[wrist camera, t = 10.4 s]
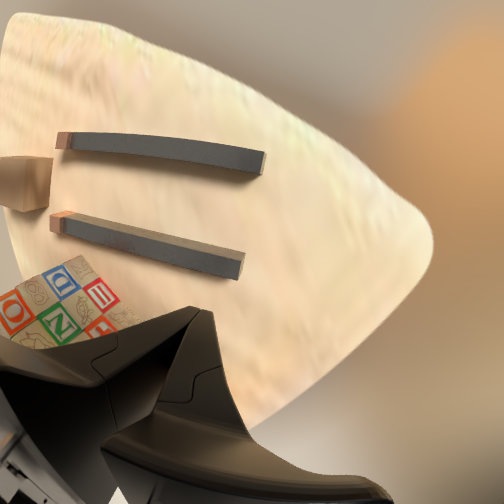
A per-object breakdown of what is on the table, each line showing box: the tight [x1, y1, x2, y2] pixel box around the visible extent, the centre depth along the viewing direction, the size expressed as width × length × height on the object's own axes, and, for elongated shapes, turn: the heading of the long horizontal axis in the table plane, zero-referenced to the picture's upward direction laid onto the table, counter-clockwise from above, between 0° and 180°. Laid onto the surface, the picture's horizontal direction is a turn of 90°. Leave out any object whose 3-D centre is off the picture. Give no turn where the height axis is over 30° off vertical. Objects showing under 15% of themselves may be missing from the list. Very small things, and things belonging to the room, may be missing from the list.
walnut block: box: [0, 156, 53, 212], centre depth 20 cm, size 5×6×4 cm
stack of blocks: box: [0, 255, 140, 349], centre depth 19 cm, size 21×6×12 cm, turn 44°
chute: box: [50, 132, 267, 281], centre depth 19 cm, size 9×18×2 cm, turn 78°
